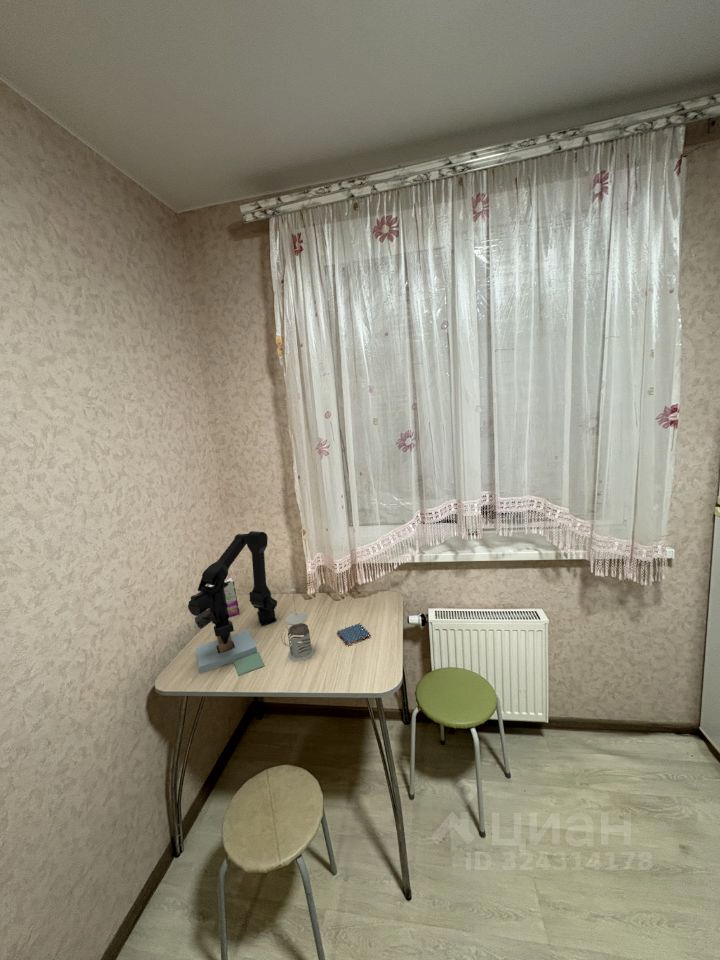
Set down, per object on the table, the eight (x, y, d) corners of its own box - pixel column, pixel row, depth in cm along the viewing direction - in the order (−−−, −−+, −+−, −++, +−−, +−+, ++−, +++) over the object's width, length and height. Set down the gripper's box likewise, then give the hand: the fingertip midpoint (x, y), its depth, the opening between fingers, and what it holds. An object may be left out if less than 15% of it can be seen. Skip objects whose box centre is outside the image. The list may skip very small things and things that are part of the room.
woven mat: (335, 635, 149) (335, 630, 148) (360, 626, 153) (359, 621, 153) (346, 648, 139) (346, 643, 139) (372, 638, 144) (371, 634, 143)
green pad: (259, 653, 141) (258, 652, 141) (264, 666, 133) (264, 665, 133) (234, 662, 137) (233, 661, 137) (238, 676, 129) (238, 675, 129)
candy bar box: (237, 609, 176) (232, 576, 173) (239, 614, 171) (234, 580, 169) (212, 617, 171) (206, 583, 168) (213, 622, 166) (207, 587, 164)
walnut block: (231, 644, 145) (227, 622, 144) (233, 650, 142) (229, 628, 140) (219, 648, 144) (215, 626, 142) (220, 654, 140) (216, 632, 138)
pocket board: (249, 635, 153) (249, 629, 153) (257, 652, 141) (256, 646, 141) (196, 653, 145) (195, 647, 144) (199, 673, 132) (198, 667, 132)
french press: (320, 651, 138) (312, 587, 134) (294, 667, 130) (284, 600, 126) (304, 641, 145) (295, 580, 141) (278, 657, 137) (268, 592, 133)
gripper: (192, 598, 144) (199, 636, 147) (196, 619, 127) (204, 661, 130) (223, 590, 149) (229, 626, 151) (230, 609, 132) (237, 650, 135)
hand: (224, 640), depth 142 cm, fingers closed on walnut block, 4 cm apart
